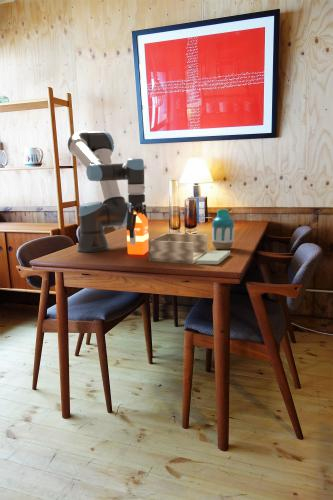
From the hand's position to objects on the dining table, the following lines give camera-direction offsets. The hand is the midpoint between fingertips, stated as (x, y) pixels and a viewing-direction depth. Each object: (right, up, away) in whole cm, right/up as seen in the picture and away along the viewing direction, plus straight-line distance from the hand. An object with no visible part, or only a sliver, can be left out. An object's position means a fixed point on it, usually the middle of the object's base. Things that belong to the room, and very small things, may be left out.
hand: (138, 242), depth 178 cm
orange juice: (0, -5, +1) cm, 5 cm away
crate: (+19, -7, -7) cm, 21 cm away
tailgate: (+29, -7, -12) cm, 33 cm away
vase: (+40, -4, +7) cm, 41 cm away
